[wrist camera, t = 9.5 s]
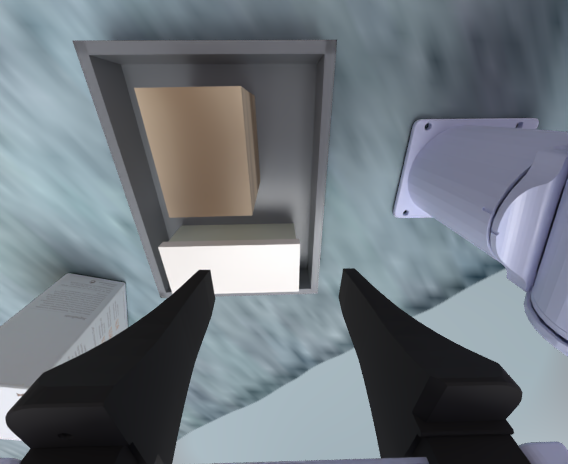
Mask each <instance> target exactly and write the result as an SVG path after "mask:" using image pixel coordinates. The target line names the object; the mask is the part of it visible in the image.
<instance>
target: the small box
mask: <svg viewBox="0 0 568 464" xmlns="http://www.w3.org/2000/svg"><path fill="white" fill-rule="evenodd" d="M127 328H128V320H127V302H126V287H125V283H124V282H118V281H112V280H106V279H101V278H95V277H89V276H83V275H77V274H71V273H67V274H66V275H64V276H63V277H62V278H61V279H59V280H58V281H57V282H56V283H54V284H53V285H52V286H50V287H49V288H48V289H47V290H45V291H44V292H43V293H42V294H40V295H39V296H38V297H37V298H35V299H34V300H33V301H32V302H30V303H29V304H28V305H27V306H25V307H24V308H23V309H22V310H20V311H19V312H18V313H17V314H15V315H14V316H13V317H11V318H10V319H9V320H8V321H7V322H5V323H4V324H3V325H2V326H0V439H8V440H21V439H20V438H19V437H17V436H16V435H15V434H14V433H13V432H12V431H11V430H10V429H9V428H8V427H7V424H6V420H5V417H6V414H7V412H8V411H9V410H10V409H11V408H12V407H13V405H14V404H15V403H16V402H17V401H18V400H19V399H20V398H21V397H22V395H23V394H24V393H25V392H26V391H27V390H28V389H29V388H30V387H31V385H32V384H33V383H34V382H35V381H36V380H37V379H38V378H39V377H40V375H41V374H42V373H43V372H46V371H48V370H50V369H52V368H54V367H56V366H58V365H61V364H63V363H65V362H67V361H69V360H71V359H73V358H75V357H77V356H79V355H81V354H83V353H85V352H87V351H89V350H91V349H93V348H94V347H96V346H98V345H100V344H102V343H104V342H105V341H107V340H109V339H111V338H112V337H114V336H115V335H117V334H119V333H120V332H122V331H123V330H125V329H127ZM21 441H22V440H21Z"/></svg>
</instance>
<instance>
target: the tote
mask: <svg viewBox="0 0 568 464" xmlns="http://www.w3.org/2000/svg"><path fill="white" fill-rule="evenodd" d="M73 44H74V47H75V50H76V52H77V55H78V58H79V61H80V64H81V67H82V70H83V73H84V76H85V79H86V82H87V85H88V87H89V90H90V93H91V96H92V99H93V102H94V105H95V108H96V111H97V114H98V117H99V119H100V122H101V125H102V128H103V131H104V134H105V137H106V140H107V143H108V146H109V149H110V152H111V154H112V157H113V160H114V163H115V166H116V169H117V172H118V175H119V178H120V181H121V184H122V186H123V189H124V192H125V195H126V198H127V201H128V204H129V207H130V210H131V213H132V216H133V219H134V221H135V224H136V227H137V230H138V233H139V236H140V239H141V242H142V245H143V248H144V251H145V253H146V256H147V259H148V262H149V265H150V268H151V271H152V274H153V277H154V280H155V283H156V286H157V288H158V291H159V294H160V297H161V298H169V297H170V296H171V295H172V291H171V288H170V284H169V281H168V278H167V275H166V271H165V268H164V265H163V262H162V258H161V255H160V252H159V249H158V247H159V246H160V244H161V243H162V242H168V241H169V240H170V239H171V238H172V236H173V235H174V234H175V233H176V232H177V230H178V229H179V228H180V227H181V226H186V225H236V224H285V223H294V228H295V234H296V239H299V241H300V266H299V292H266V293H228V294H215V296H248V295H286V294H317V291H318V278H319V265H320V252H321V239H322V227H323V214H324V201H325V188H326V175H327V162H328V149H329V136H330V123H331V110H332V97H333V84H334V71H335V58H336V45H337V40H124V41H73ZM216 86H241V87H243V88H244V89H246V90H247V91H248V92H250V93H251V94H253V95H254V96H255V108H256V123H257V138H258V153H259V169H260V185H259V189H258V193H257V198H256V202H255V206H254V210H253V215H252V216H215V217H178V218H169V214H168V211H167V207H166V203H165V200H164V196H163V192H162V189H161V185H160V181H159V178H158V174H157V170H156V167H155V163H154V159H153V156H152V152H151V148H150V145H149V141H148V137H147V134H146V130H145V126H144V123H143V119H142V115H141V111H140V108H139V104H138V100H137V97H136V93H135V89H134V88H157V87H216Z"/></svg>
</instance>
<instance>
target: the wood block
mask: <svg viewBox="0 0 568 464" xmlns="http://www.w3.org/2000/svg"><path fill="white" fill-rule="evenodd" d="M134 89H135V93H136V97H137V100H138V104H139V108H140V111H141V115H142V119H143V123H144V126H145V130H146V134H147V137H148V141H149V145H150V148H151V152H152V156H153V159H154V163H155V167H156V170H157V174H158V178H159V181H160V185H161V189H162V192H163V196H164V200H165V203H166V207H167V211H168V214H169V218H178V217H215V216H252V215H253V210H254V206H255V202H256V198H257V193H258V189H259V185H260V169H259V153H258V138H257V123H256V108H255V96H254V95H253V94H251V93H250V92H248V91H247V90H246V89H244V88H243V87H241V86H216V87H157V88H134Z"/></svg>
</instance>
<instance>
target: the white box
mask: <svg viewBox="0 0 568 464" xmlns="http://www.w3.org/2000/svg"><path fill="white" fill-rule="evenodd" d="M158 249H159V252H160V255H161V258H162V262H163V265H164V268H165V271H166V275H167V278H168V281H169V284H170V288H171V291H172V294H173V293H174V292H175V291H177V290H178V289H179V288H180V287H181V286H182V285H183V284H184V283H185V282H186V281H187V280H188V279H189V278H191V277H192V276H193V275H194V274H195V273H196V272H197V271H198V270H210V271H211V276H212V282H213V288H214V294H228V293H266V292H299V266H300V241H299V239H296V234H295V228H294V223H285V224H236V225H186V226H181V227H180V228H179V229H178V230H177V232H176V233H175V234H174V235H173V236H172V238H171V239H170V240H169V241H168V242H162V243H161V244H160V246H159V247H158Z"/></svg>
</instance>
